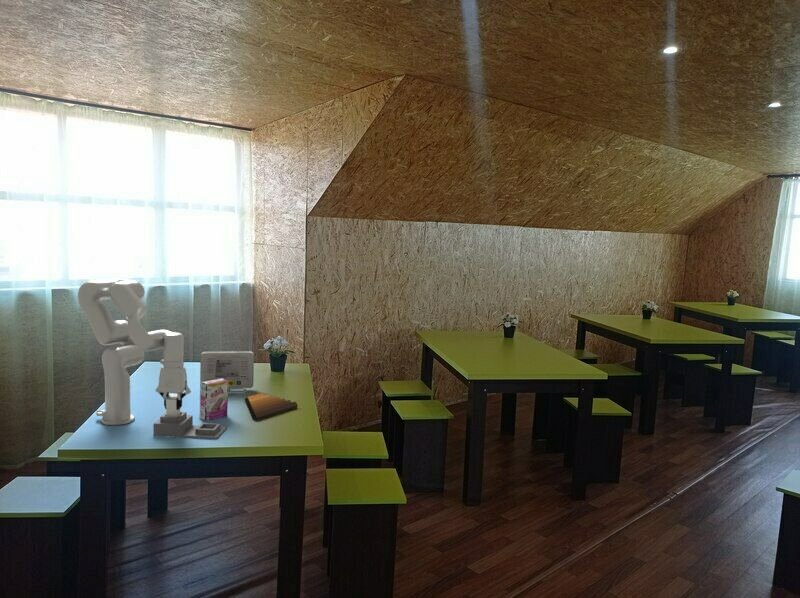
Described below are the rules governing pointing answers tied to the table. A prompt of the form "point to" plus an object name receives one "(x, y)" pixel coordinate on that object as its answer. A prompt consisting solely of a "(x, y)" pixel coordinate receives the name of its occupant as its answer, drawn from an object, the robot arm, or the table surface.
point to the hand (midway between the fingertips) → (173, 407)
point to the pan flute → (267, 406)
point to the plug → (172, 406)
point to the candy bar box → (213, 399)
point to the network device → (228, 368)
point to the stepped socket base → (186, 427)
